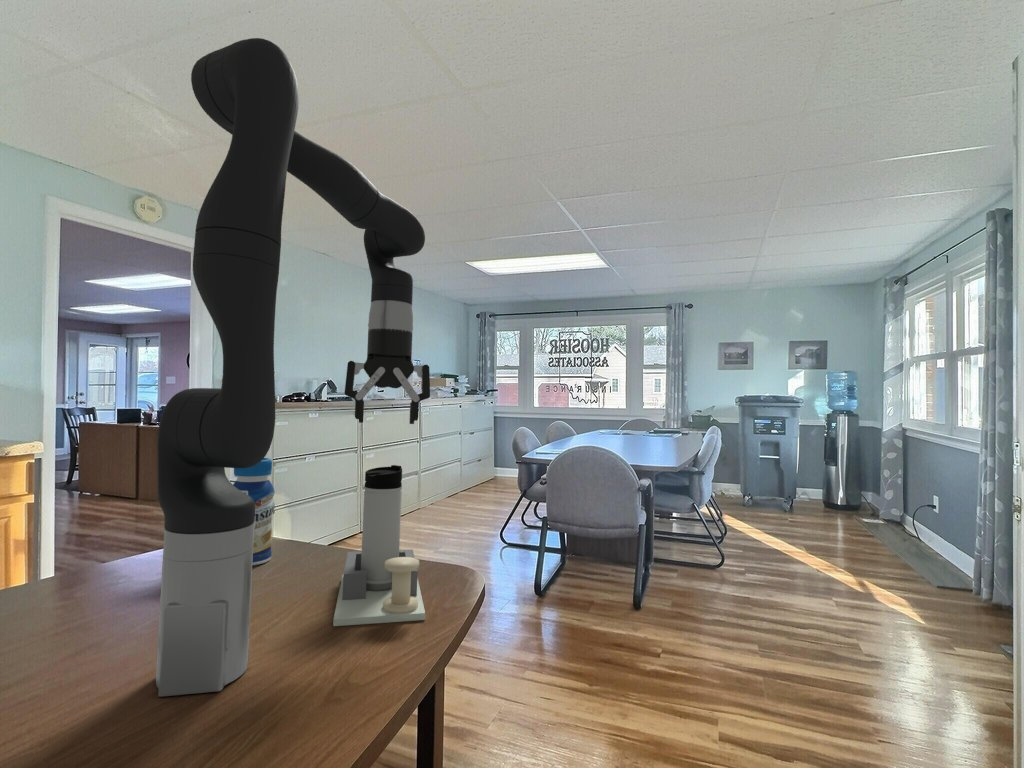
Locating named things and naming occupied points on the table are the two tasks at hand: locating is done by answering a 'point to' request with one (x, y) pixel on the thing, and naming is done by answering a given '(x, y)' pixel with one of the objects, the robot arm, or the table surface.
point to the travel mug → (381, 524)
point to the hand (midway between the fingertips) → (386, 423)
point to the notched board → (379, 593)
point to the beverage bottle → (259, 505)
